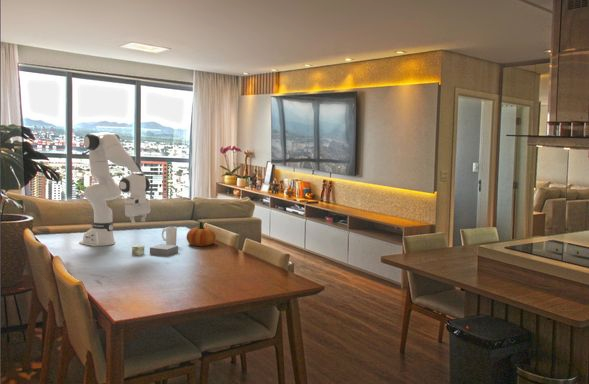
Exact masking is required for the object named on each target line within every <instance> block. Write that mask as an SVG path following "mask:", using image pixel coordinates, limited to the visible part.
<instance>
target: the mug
mask: <svg viewBox="0 0 589 384" xmlns="http://www.w3.org/2000/svg"><path fill="white" fill-rule="evenodd" d="M177 228H178V227H177V226H166V227H165V228H163V229H162V231H161V238H162V240H163V241H164V242H165V244H166V245H176V246H177V235H178V234H177V233H178V229H177ZM164 233H165V235H164Z"/></svg>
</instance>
